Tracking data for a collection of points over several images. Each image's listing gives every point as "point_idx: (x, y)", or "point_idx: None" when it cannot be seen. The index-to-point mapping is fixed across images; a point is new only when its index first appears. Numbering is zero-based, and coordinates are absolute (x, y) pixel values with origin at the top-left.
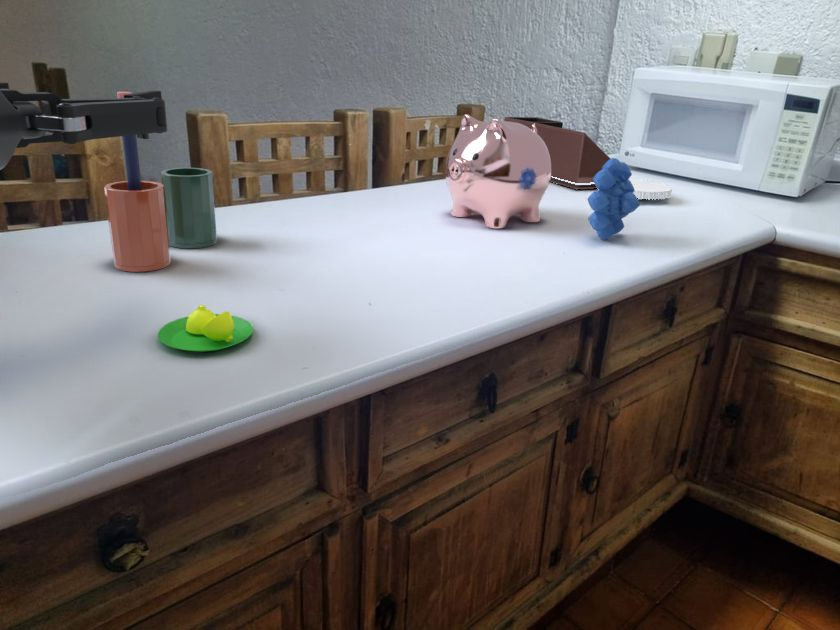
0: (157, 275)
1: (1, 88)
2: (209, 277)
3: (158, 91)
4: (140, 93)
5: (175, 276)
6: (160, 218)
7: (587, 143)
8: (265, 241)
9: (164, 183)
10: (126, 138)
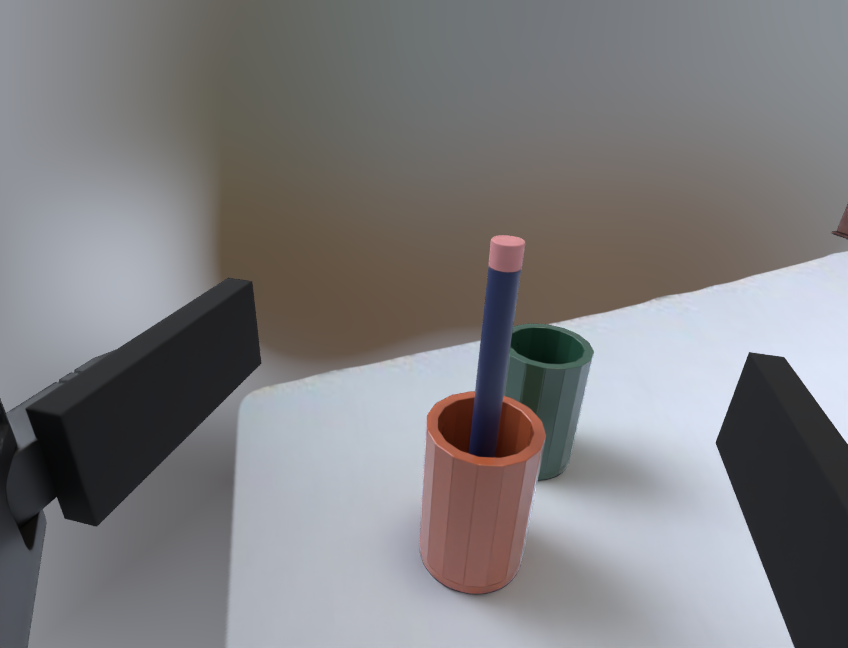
0: (514, 617)
1: (231, 311)
2: (628, 643)
3: (793, 370)
4: (843, 467)
5: (553, 628)
6: (532, 498)
7: None
8: (651, 457)
9: (508, 370)
10: (494, 342)
